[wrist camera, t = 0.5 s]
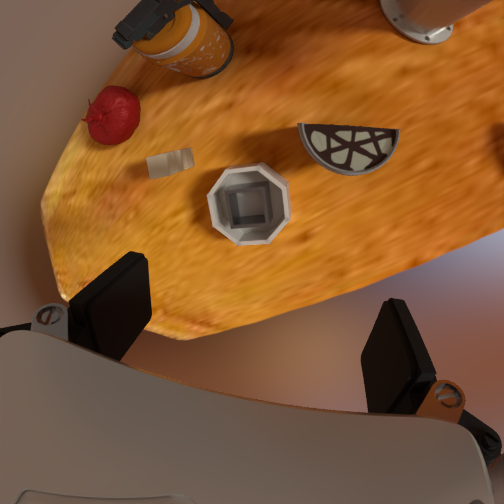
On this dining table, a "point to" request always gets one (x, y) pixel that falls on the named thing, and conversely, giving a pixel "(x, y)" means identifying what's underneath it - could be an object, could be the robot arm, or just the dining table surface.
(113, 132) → the pomegranate
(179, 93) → the dining table surface
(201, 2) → the canister
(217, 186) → the white octagonal tray
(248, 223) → the hollow square tube
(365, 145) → the food container
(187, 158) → the grey rectangular block
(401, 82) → the dining table surface
